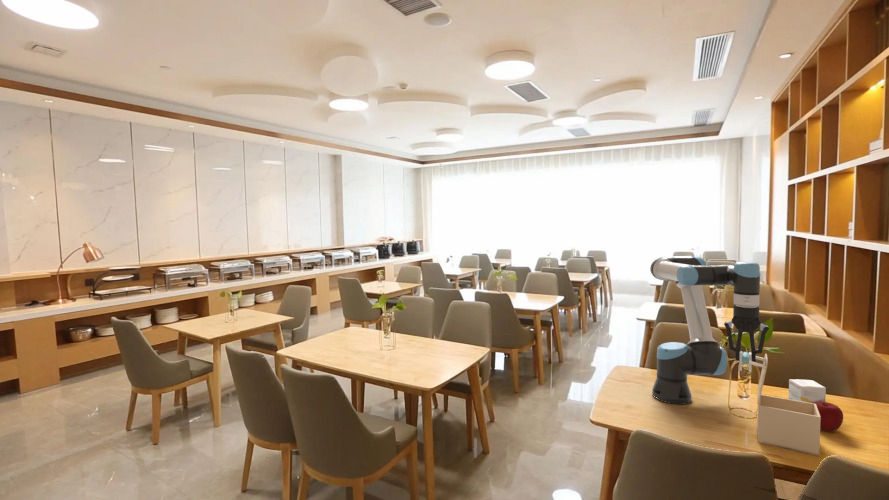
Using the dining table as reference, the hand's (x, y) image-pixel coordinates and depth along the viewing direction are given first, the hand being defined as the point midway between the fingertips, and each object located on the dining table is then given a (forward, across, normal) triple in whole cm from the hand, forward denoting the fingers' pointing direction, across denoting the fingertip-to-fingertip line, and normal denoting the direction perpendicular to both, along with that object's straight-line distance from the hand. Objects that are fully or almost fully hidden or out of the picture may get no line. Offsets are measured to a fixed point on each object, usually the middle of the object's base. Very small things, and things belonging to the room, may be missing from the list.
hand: (745, 370), depth 152 cm
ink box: (+23, +20, +33) cm, 45 cm away
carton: (+23, +12, 0) cm, 26 cm away
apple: (+23, +24, +18) cm, 38 cm away
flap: (+2, +5, 0) cm, 5 cm away
